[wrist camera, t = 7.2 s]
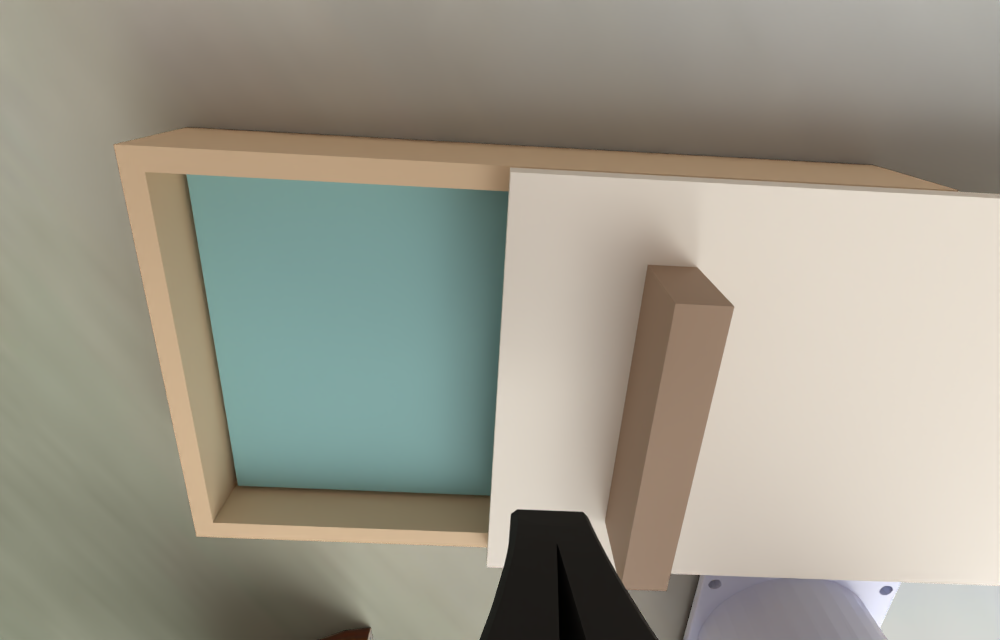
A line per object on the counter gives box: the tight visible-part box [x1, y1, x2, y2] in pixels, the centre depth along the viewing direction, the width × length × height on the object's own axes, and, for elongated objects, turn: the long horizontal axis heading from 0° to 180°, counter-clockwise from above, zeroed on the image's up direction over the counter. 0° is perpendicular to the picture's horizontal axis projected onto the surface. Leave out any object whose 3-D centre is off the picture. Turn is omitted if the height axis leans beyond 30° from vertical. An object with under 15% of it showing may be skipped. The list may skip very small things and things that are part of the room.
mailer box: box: [113, 127, 958, 547], centre depth 18 cm, size 12×20×4 cm, turn 87°
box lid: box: [487, 167, 1000, 591], centre depth 15 cm, size 12×20×3 cm, turn 87°
